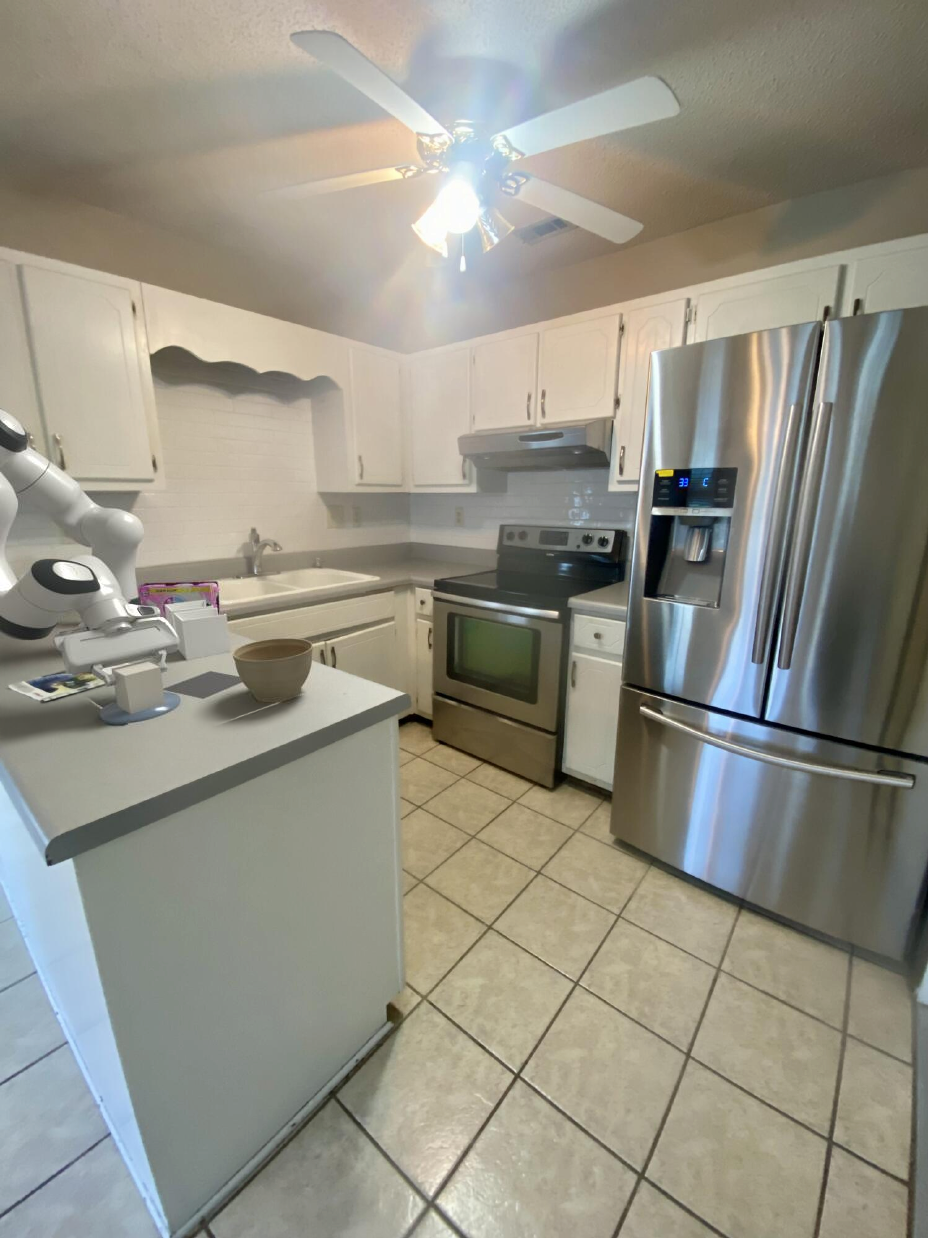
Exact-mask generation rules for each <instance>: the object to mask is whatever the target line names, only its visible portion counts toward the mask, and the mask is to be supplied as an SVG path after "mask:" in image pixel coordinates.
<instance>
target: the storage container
mask: <svg viewBox="0 0 928 1238" xmlns="http://www.w3.org/2000/svg"><path fill="white" fill-rule="evenodd" d="M165 612H166V618H167V621H168V622H169V623H170V624H171V625H172V627H173V628H174V630H175V631H176V633H177V635H178V637H179V639H180V643H179V646H178V648H177V649H178V651H179V652H180V654H181V655H182V656H183V657H184V659H185V660H186V661H191V660H196V659H202V658H207V657H211V656H212V657H213V656H219V655H225V654H229V653H232V649H231V643H230V641H231V640H230V633H229V625H228V617H227V614H226V613H224V614H220V615H219V616H218V610H217V608H214V606H213V605H211V606H207V607H206V600H199V601H191V602H182V603H174V604H165Z"/></svg>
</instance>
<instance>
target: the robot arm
mask: <svg viewBox="0 0 928 1238" xmlns="http://www.w3.org/2000/svg"><path fill="white" fill-rule="evenodd" d="M28 442H29V439H28V433H27V431H26V429H25V428H24V427H23V426H22V424H21V423H20V421H18V420H17V418H15V417H14V416H13V415H11V414H10V413H9V412H7V411H6V410H4V409H2V408H0V632H1V633H2V634H3V635H5V636H7V637H9V638H12V639H15V640H21V641H35V640H42V639H45V638H47V637H48V636H49V635H51V633H52V631H53V630H54V629H55V628H56V626H57V624H59V622H60V620H62V619H63V618H64V617H65V616H66V614H67V613H68V612H69V611H71V612H72V611H75V612H77V613H78V614H79V617H80V620H81V622H80V623H79V624H78V625H77V627H76V628H74V629H72V630H71V629H70V630H63V631H60V632H59V634H57V635H55V636H54V637H53V639H52V642H53V645H54V647H55V649H56V650H57V651H59V652H61V656H62V657H61V658H62V661H63V665H64V669H65V670H66V672H67V673H68V674H71V675H73V676H78V675H82V674H86V673H90V672H91V673H92V675H93V676H94V677H96V678H97V679H99V680H101V681H103V683H104V684H105V687H107V688H108V687H109V688H110V687H113V686H114V685H116V678H114V677H115V676H114V674H112V673H110V674H108V673H107V672H105V671H104V669H107V668H111V667H115V666H121V665H123V664H124V665H125V664H127V663H132V662H136V661H137V662H138V661H141V660H142V661H143V660H145V659H151V658H154V657H155V658H156V659H157V660H160V661H159V662H156V665H157V666H159V667H160V670H161V674H163V673H166V672H168V665H167V663H166V657H167V654H171V653H175V652H176V651H177V649H179V648H178V646H179V643H180V639H179V637H178V635H177V633H176V631H175V630H174V628H173V627H172V625H171V624H170V623H169V622H168V621H167V620H166V619H165V618H162V617H160V610H159V608H157V607H154V606H142V601H141V598H140V596H138V589H137V586H138V583H137V582H138V581H137V575H136V559H137V552H138V547H139V545H140V543H141V542H142V540H143V539H144V535H145V530H144V526H143V523H142V521H141V520H140V519H139V517H137V516H136V515H135V514H132V513H130V512H128V511H126V510H125V509H124V510H123V509H120V508H114V507H113V508H110V507H106V508H105V507H103V506H100V505H98V504H97V503H96V502H94V501H93V500H92V499H91V498H90V497H89V496H88V495H87V494H86V493H85V492H84V491H83V489H82V486H81V485H80V484H79V482H78V481H76V480H75V479H74V478H73V477H71V476H70V475H68V474H67V473H66V472H64V470H62V469H61V468H60V467H58V466H57V465H56V464H54V463H52V462H51V461H50V460H49V459H47V458H46V457H45V456H44V455H42V454H40V453H39V452H37V451H36V450H34V449H33V448H31V446H28V445H27V444H29V443H28ZM17 497H19V499H21V500H23V501H24V502H26V503H27V504H29V506H31V507H33V508H35V509H36V510H37V511H39V512H41V514H43V515H45V516H46V517H47V518H48V519H49V520H50V521H52V522H53V524H55V525H56V526H57V527H58V528H60V529H61V530H62V531H63V533H65V534H66V535H67V536H68V538H70V540H72V541H73V542H75V543H77V544H79V545H81V546H83V547H86V548H89V549H90V548H91V555H90V554H78V555H74V556H70V557H69V558H67V559H59V558H43V559H38V560H36V561H35V562H34V563H32V564H31V565H30V567H29V568H27V570H26V571H25V572H24V573H22V574H21V576H20V577H19V578H17V577H16V574H15V573H14V571H13V570H12V568H11V566H10V564H9V563H8V560H7V556H6V553H5V552H6V550H5V548H6V542H7V539H8V535H9V533H10V529H11V527H12V525H13V523H14V521H15V518H16V516H17V514H18V513H17V512H18V509H19V502H18V501H19V500H18V498H17Z"/></svg>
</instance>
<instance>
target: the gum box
mask: <svg viewBox="0 0 928 1238" xmlns="http://www.w3.org/2000/svg"><path fill="white" fill-rule="evenodd" d="M144 583H145V584H144ZM144 583H142V584H140V585H137V589H138V596H140V598H141V601H142V606H154V607H157V608H159V610H160V617H162V618H165V619H166V620H167V618H166V612H165V604H174V603H182V602H191V601H199V600H206V607H207V606H211V605H213V606H214V608H217V610H218V616H219V615H221V609H220V588H219V582H218V581H216V580H214V581H213V580H211V581H210V580H204V581H174V582H173V581H171V582H168V581H167V582H144Z"/></svg>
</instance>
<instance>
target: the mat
mask: <svg viewBox="0 0 928 1238" xmlns="http://www.w3.org/2000/svg"><path fill="white" fill-rule="evenodd" d="M241 683H243V682H242V680H241V678H240V677H239V675H238V676H237V675H233V674H226V673H221V672H216V671H212V670H209V671H207V672H205V673H201V674H198V675H196V676H193V677H191V678H189V679H186V680H183V681H181V682H177V683H175V684H172V685H169V686H167V687H163V690H164V691H165V692H170V693H174V694H179V695H180V694H181V695H185V696H190V697H194V698H199V699H203V700H204V699H206V698H209V697H211V696H214V695H215V694H218V693H221V692H223V691H224V690H228V689H230V688H233V687H234V686H237V685H239V684H241Z"/></svg>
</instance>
